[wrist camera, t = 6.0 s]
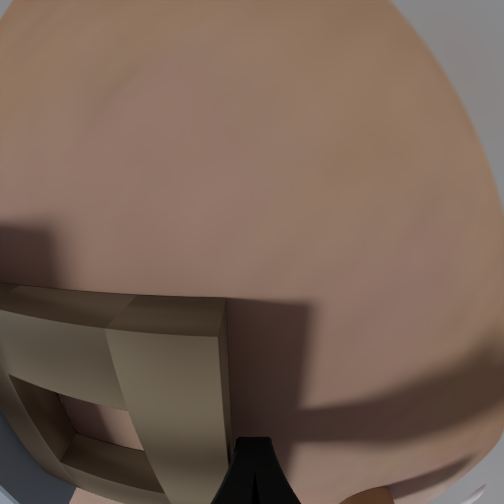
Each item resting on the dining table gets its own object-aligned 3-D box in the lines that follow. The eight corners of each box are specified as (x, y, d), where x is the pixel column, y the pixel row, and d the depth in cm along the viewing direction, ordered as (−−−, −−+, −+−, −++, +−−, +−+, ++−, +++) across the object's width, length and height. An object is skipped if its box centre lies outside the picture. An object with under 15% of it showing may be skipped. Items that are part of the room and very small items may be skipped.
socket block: (236, 486, 11) (235, 520, 9) (58, 448, 11) (44, 472, 9) (225, 297, 9) (217, 336, 6) (-12, 281, 9) (-45, 297, 6)
